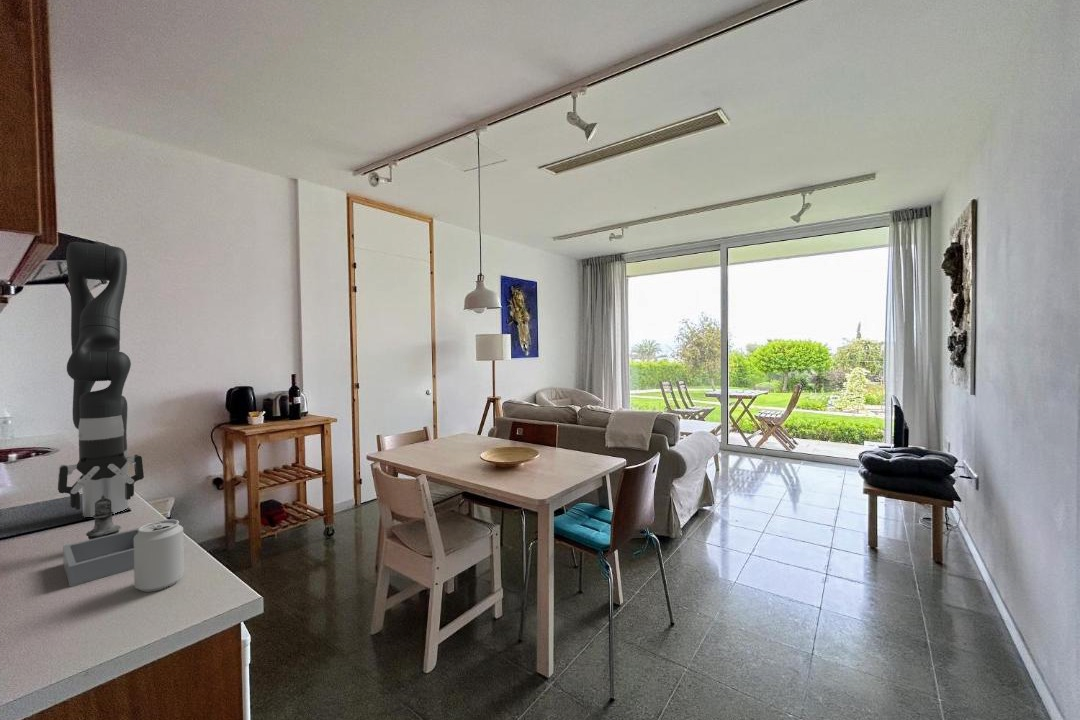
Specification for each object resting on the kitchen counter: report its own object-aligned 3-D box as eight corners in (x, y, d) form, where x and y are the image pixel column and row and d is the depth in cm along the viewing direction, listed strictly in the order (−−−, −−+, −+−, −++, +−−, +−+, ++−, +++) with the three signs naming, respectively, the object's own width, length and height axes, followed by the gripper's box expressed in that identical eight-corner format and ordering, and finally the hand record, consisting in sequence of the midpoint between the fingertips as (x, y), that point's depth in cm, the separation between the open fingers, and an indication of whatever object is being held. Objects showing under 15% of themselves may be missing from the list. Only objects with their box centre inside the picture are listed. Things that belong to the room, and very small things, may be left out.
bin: (63, 564, 95) (62, 546, 95) (148, 542, 106) (148, 525, 106) (69, 586, 86) (69, 566, 86) (162, 560, 97) (161, 542, 97)
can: (142, 598, 83) (141, 535, 82) (128, 586, 87) (127, 526, 86) (190, 580, 89) (189, 522, 89) (175, 570, 93) (174, 514, 93)
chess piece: (99, 552, 101) (97, 500, 101) (79, 549, 102) (78, 498, 102) (127, 541, 107) (126, 492, 106) (108, 538, 108) (107, 490, 108)
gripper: (138, 429, 112) (140, 493, 112) (55, 438, 101) (57, 508, 101) (145, 433, 107) (146, 499, 107) (58, 442, 96) (60, 516, 96)
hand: (103, 503), depth 104 cm, fingers open, 8 cm apart
